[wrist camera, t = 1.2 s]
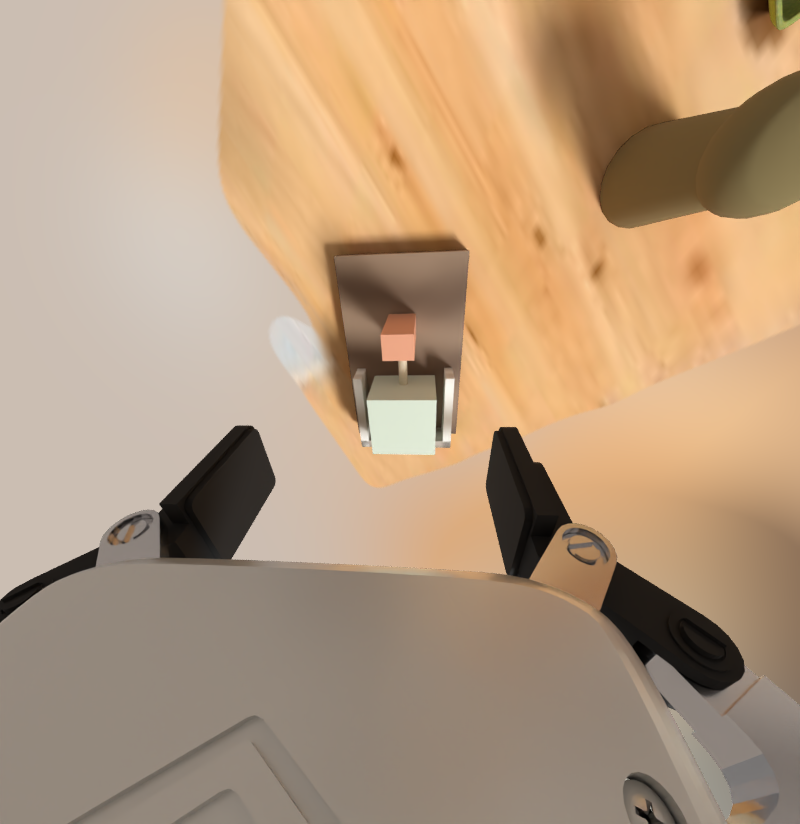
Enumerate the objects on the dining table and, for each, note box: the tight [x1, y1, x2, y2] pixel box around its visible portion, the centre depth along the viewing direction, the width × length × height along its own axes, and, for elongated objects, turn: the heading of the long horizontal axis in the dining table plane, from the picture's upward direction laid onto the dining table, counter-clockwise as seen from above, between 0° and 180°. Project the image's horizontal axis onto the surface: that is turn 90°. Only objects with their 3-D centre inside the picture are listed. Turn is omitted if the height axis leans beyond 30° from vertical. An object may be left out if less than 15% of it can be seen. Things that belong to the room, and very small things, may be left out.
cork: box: [600, 71, 800, 228], centre depth 17 cm, size 6×6×11 cm
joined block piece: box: [367, 314, 437, 455], centre depth 26 cm, size 12×6×6 cm, turn 2°
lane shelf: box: [334, 250, 469, 448], centre depth 28 cm, size 18×11×4 cm, turn 2°
